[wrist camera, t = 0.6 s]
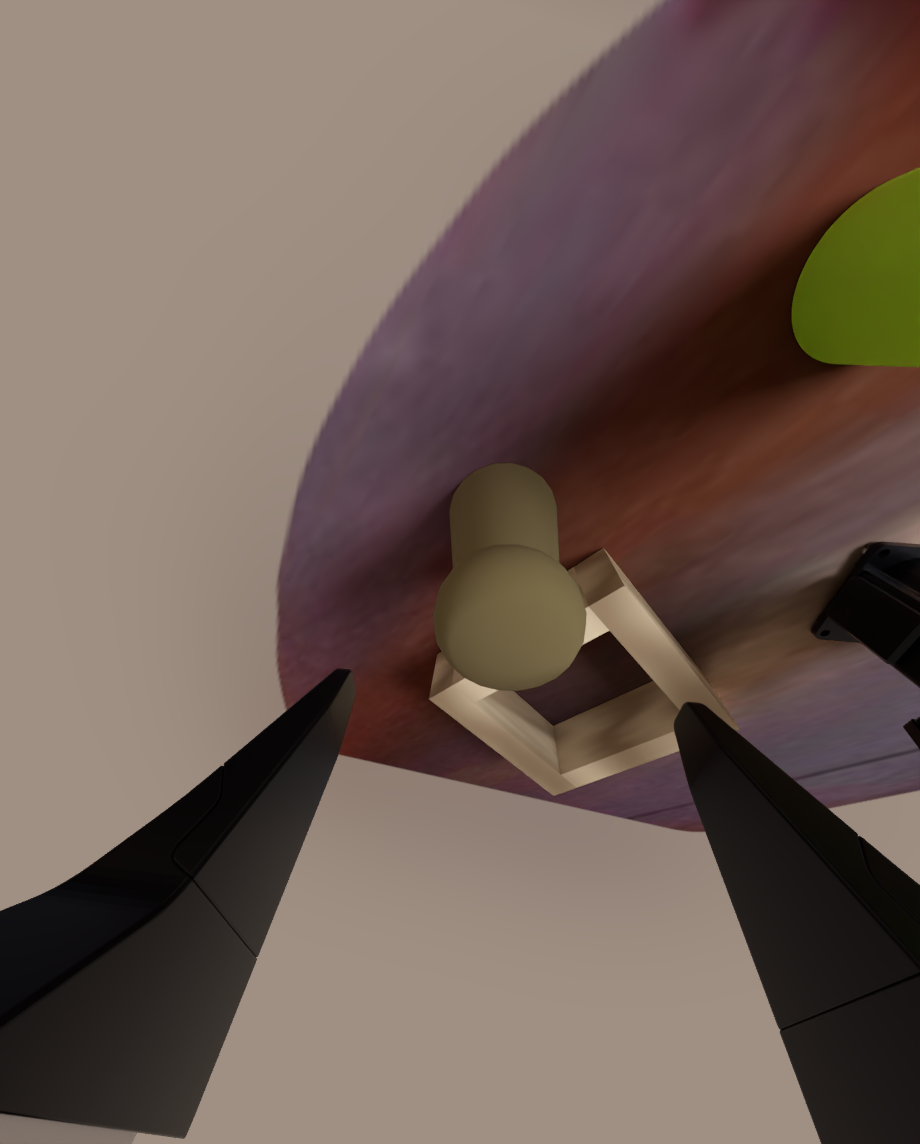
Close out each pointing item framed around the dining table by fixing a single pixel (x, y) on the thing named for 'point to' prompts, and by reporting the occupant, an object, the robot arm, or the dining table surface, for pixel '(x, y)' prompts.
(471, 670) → the olive round-headed peg
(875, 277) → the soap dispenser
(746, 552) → the dining table surface
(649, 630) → the socket block
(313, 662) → the dining table surface
